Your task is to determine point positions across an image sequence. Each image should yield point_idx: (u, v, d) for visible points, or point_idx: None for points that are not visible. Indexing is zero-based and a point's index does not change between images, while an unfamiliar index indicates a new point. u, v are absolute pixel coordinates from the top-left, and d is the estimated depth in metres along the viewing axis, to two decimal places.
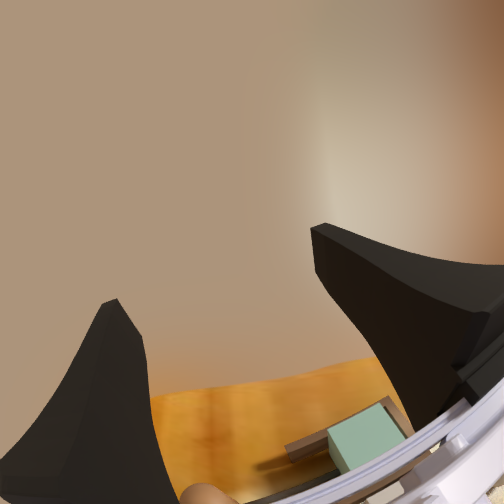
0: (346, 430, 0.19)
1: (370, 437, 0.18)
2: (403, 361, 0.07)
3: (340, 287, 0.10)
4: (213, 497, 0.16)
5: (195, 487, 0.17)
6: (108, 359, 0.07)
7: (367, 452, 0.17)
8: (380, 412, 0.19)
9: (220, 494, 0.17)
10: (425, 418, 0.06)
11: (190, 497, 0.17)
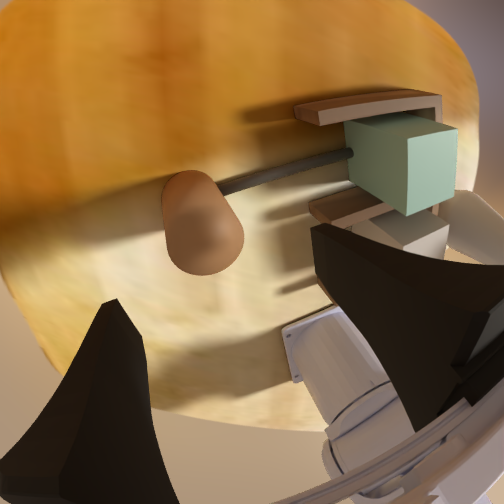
0: (423, 150, 0.14)
1: (436, 171, 0.15)
2: (403, 361, 0.07)
3: (340, 287, 0.10)
4: (227, 231, 0.13)
5: (193, 216, 0.12)
6: (108, 359, 0.07)
7: (427, 189, 0.15)
8: (453, 143, 0.14)
9: (239, 224, 0.13)
10: (426, 418, 0.06)
11: (186, 237, 0.13)
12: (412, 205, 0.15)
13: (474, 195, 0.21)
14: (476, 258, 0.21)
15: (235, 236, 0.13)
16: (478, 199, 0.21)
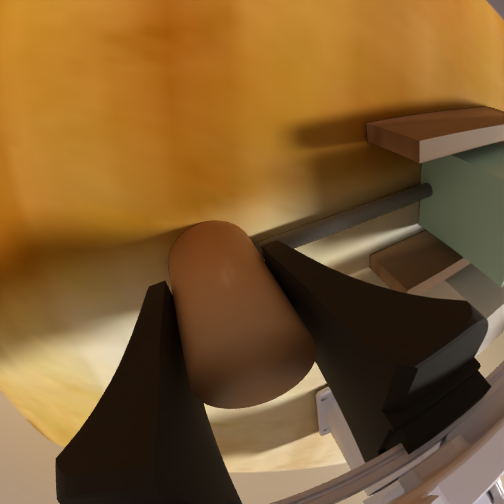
0: None
1: None
2: (345, 393, 0.07)
3: None
4: (292, 355, 0.07)
5: (237, 344, 0.07)
6: (167, 340, 0.07)
7: None
8: None
9: (312, 343, 0.07)
10: (370, 452, 0.06)
11: (224, 372, 0.07)
12: None
13: None
14: None
15: (303, 359, 0.08)
16: None
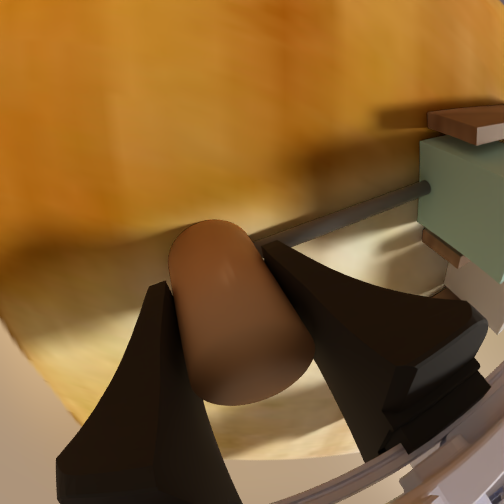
0: None
1: None
2: (345, 393, 0.07)
3: None
4: (291, 352, 0.08)
5: (236, 341, 0.07)
6: (167, 340, 0.07)
7: None
8: None
9: (310, 340, 0.08)
10: (370, 452, 0.06)
11: (223, 368, 0.07)
12: None
13: None
14: None
15: (301, 355, 0.08)
16: None
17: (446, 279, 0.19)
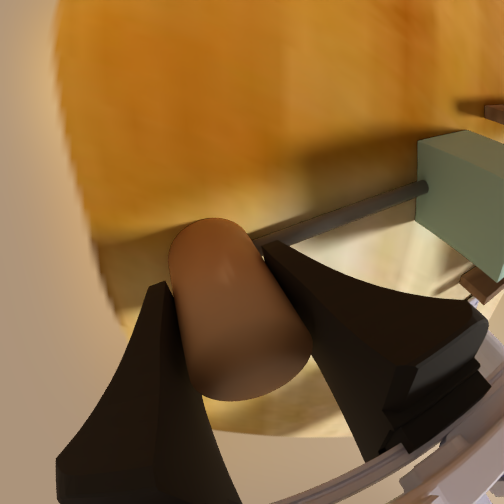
0: None
1: None
2: (345, 393, 0.07)
3: None
4: (289, 348, 0.08)
5: (235, 336, 0.07)
6: (167, 340, 0.07)
7: None
8: None
9: (308, 336, 0.08)
10: (370, 452, 0.06)
11: (222, 364, 0.07)
12: None
13: None
14: None
15: (299, 351, 0.08)
16: None
17: None
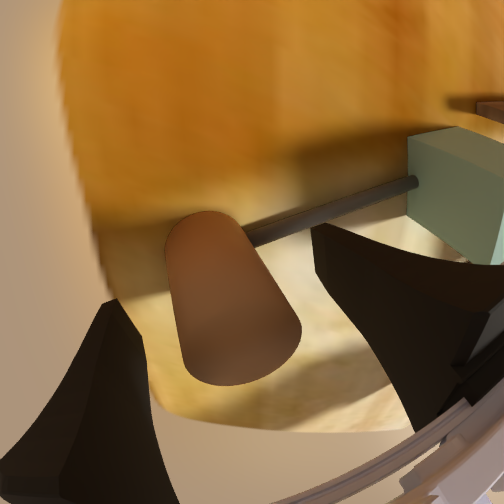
0: None
1: None
2: (403, 361, 0.07)
3: (340, 287, 0.10)
4: (278, 332, 0.08)
5: (226, 319, 0.07)
6: (108, 359, 0.07)
7: None
8: None
9: (296, 321, 0.08)
10: (425, 418, 0.06)
11: (214, 346, 0.08)
12: (494, 261, 0.10)
13: None
14: None
15: (289, 336, 0.08)
16: None
17: None
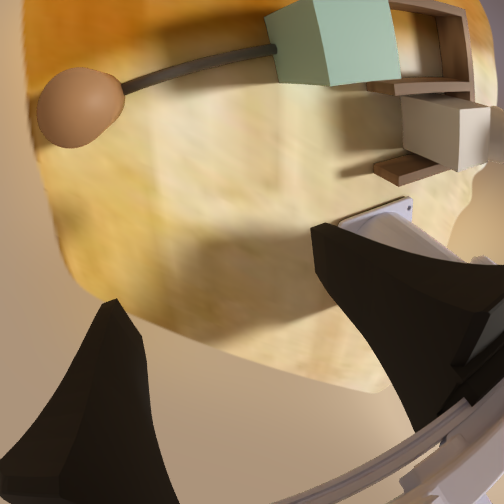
0: (338, 11, 0.10)
1: (364, 38, 0.11)
2: (403, 361, 0.07)
3: (340, 287, 0.10)
4: (94, 94, 0.10)
5: (60, 80, 0.09)
6: (108, 359, 0.07)
7: (355, 58, 0.11)
8: (385, 13, 0.10)
9: (107, 85, 0.10)
10: (425, 418, 0.06)
11: (54, 103, 0.09)
12: (337, 73, 0.12)
13: (500, 108, 0.19)
14: None
15: (103, 99, 0.10)
16: None
17: (404, 143, 0.21)
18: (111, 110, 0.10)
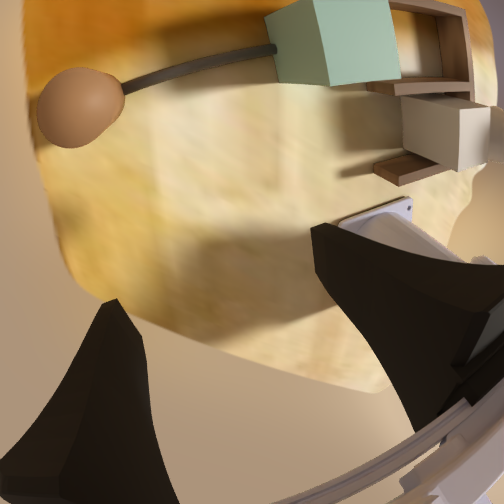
0: (338, 11, 0.10)
1: (364, 38, 0.11)
2: (403, 361, 0.07)
3: (340, 287, 0.10)
4: (94, 94, 0.10)
5: (60, 80, 0.09)
6: (108, 359, 0.07)
7: (355, 58, 0.11)
8: (385, 13, 0.10)
9: (107, 85, 0.10)
10: (425, 418, 0.06)
11: (54, 103, 0.09)
12: (337, 73, 0.12)
13: (500, 108, 0.19)
14: None
15: (103, 99, 0.10)
16: None
17: (404, 143, 0.21)
18: (111, 110, 0.10)
